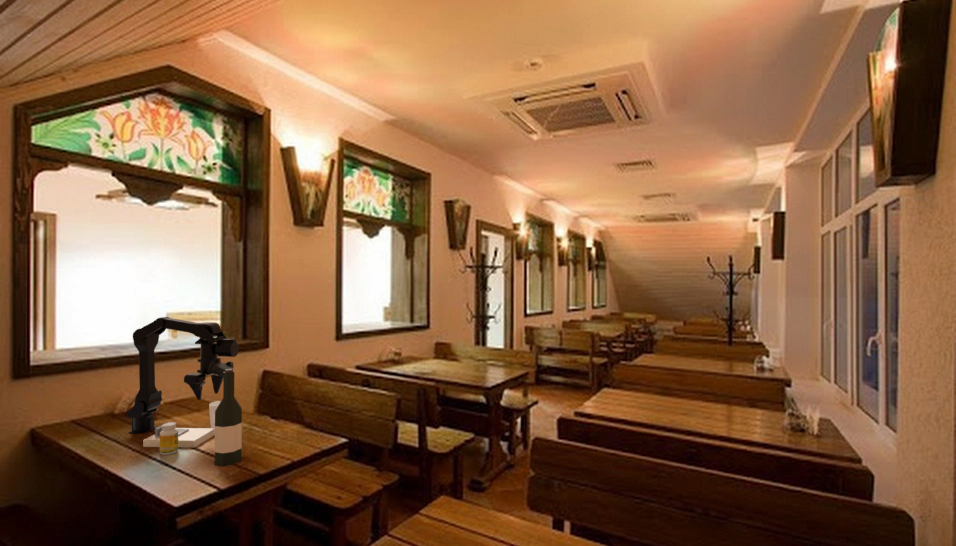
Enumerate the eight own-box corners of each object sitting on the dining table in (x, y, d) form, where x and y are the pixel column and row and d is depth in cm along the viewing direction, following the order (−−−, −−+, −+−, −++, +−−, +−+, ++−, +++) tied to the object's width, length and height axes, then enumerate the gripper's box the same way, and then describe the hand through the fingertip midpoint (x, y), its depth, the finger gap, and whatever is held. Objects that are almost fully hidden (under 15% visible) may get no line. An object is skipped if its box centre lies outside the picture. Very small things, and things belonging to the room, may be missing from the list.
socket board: (143, 446, 167) (143, 439, 167) (167, 434, 180) (167, 427, 180) (194, 447, 167) (194, 440, 167) (214, 434, 180) (215, 428, 180)
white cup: (236, 425, 191) (236, 400, 191) (223, 432, 183) (223, 406, 183) (217, 424, 192) (217, 399, 192) (204, 431, 184) (204, 405, 184)
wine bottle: (220, 456, 159) (221, 366, 159) (246, 456, 160) (247, 366, 160) (208, 466, 151) (209, 372, 151) (236, 466, 152) (236, 372, 152)
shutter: (155, 437, 170) (155, 428, 170) (168, 430, 178) (168, 422, 178) (175, 437, 170) (176, 428, 170) (188, 430, 178) (188, 422, 178)
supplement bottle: (160, 450, 164) (161, 422, 164) (179, 448, 166) (179, 420, 166) (158, 456, 159) (158, 427, 159) (177, 453, 162) (177, 425, 162)
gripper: (210, 361, 172) (209, 404, 172) (243, 352, 191) (242, 391, 191) (183, 359, 174) (182, 402, 174) (218, 351, 192) (217, 390, 192)
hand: (207, 396), depth 183 cm, fingers open, 9 cm apart
